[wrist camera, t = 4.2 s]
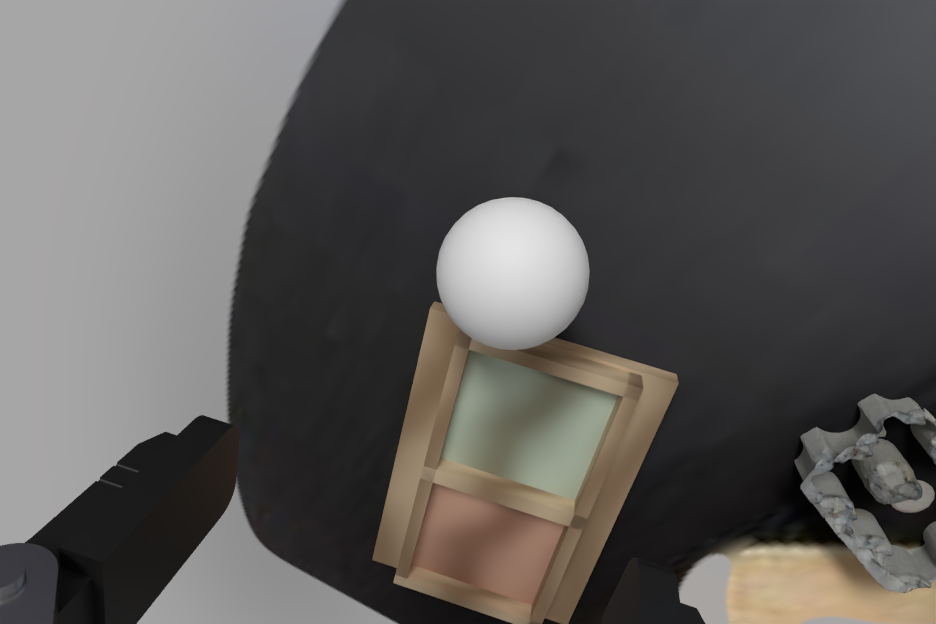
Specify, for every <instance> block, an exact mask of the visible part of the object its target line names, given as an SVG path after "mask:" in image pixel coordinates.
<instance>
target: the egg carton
mask: <svg viewBox="0 0 936 624" xmlns="http://www.w3.org/2000/svg"><path fill="white" fill-rule="evenodd" d="M858 407H859V409H860V413H861V414H860V419H859V421H858V423H857V424H856V425H855V426H854V427H853V428H852V429H850V430H848V431H846V432H842V433H830V432H826V431H823V430H821V429H819V428H813V429H812V430H810V431H808V432H807V433H804V434H803V435H802V436H800V438H801V440H802V442H803V451H802V453H801V455H800V456H799V457H798V458H797V459H796V460H794V462H795V465H796V467H797V469H798V471H799V473H800V475H801V477H802V480H803V483H802V484H801V490H802V491H803V493H804V494H805V496H806V497H807V498H808V500H809V501H810V502H811V503H812V504H813V505H814V506H815V507H816V508H817V510H818V511H819V512H820V514H821V515H822V517H823V518H825V520H826V521H827V522H828V524H829V525H830V526H831V528H832V529H833V530H834V532H835V533H836V535H837V536H838V537H839V538H840V539H841V540H842V541H843V542H844V543H845V544H846V546H847V547H848V548H849V549H850V551H851V552H852V553H853V554H854V555H855V556H856V557H857V558H858V560H859V561H860V562H861V564H862V565H863V566H864V567H865V569H866V570H867V571H868V572H869V573H870V574H871V576H872V577H873V578H874V579H875V580H876V581H877V583H879V584H880V585H881V586H882V587H883V588H884V589H886V590H889V591H894V592H902V593H906V592H909V591H911V590H913V589H916V588H925V587H927V588H930V587H931V583H932V582H933V581H935V580H936V521H935V522H933V523H932V524H930V525H929V526H928V527H927V528H926V529H925V530H924V532H923V540H924V542H925V544H924V545H923V546H920V547H917V548H915V549H912V550H906V549H904V548H901V547H898V546H893V545H891V544H890V542H889V541H888V539H887V537H886V535H885V534H884V532H883V530H882V529H881V527H880V526H879V524H878V522H877V521H876V519H875V517H874V516H873V515H872V514H871V513H870V512H868V511H866V510H863V509H854V506H853V503H852V502H851V500H850V499H849V497H848V495H847V494H846V492H845V490H844V488H843V486H842V485H841V483H840V481H839V479H838V478H837V477H836V476H835V475H834V474H833V473H832V472H829V470H831V469H832V468H833V463H834V462H840V463H844V462H846V461H847V460H848V459H851V462H852V464H853V466H854V468H855V470H856V471H857V473H858V475H859V476H860V478H861V479H862V481H863V483H864V486H865V488H866V489H867V490H868V491H869V492H870V493H871V494H872V496H873V497H874V498H875V499H876V500H877V501H878V502H880V503H882V504H891V505H892V507H893V508H894V509H896V510H898V511H901V512H904V513H914V512H919V511H921V510H923V509H925V508H927V507H929V505H930V504H931V502H932V501H933V500H934V495H935V492H934V490H933V488H932V487H931V486H930V485H929V484H928V483H926V482H924V481H920V480H916V477H915V474H914V471H913V470H912V468H911V467H910V465H909V464H908V463H907V461H906V460H905V459H904V458H903V456H902V455H901V453H900V452H899V451H898V450H897V448H896V447H895V446H894V444H892V443H891V442H889V441H887V440H883V439H878V437H884V436H885V435H886V430H885V428H884V426H883V422H884V420H885V419H887V418H889V417H891V416H894V417H896V418H898V419H899V420H901V421H902V422H904V423H906V424H911V425H910V428H911V430H912V433H913V435H914V437H915V438H916V439H917V440H918V442H919V443H920V444H921V445H922V447H923V448H924V449H925V451H926V452H927V453H928V454H929V456H930V457H931V458H932V459H933V461H934V463H935V464H936V419H935V418H934V417H933V416H932V415H931V414H930V413H929V412H928V411H927V410H926V409H925V408H924V409H923V411H922V409H921V408H920V407H919V405H918V404H917V403H916V402H915V401H914V400H912V399H911V398H909V397H908V398H903V399H900V400H889V399H885V398H883V397H881V396H879V395H876V394H873V395H871V396H869V397H867V398H865V399H864V400H862V401H860V402H859V403H858Z"/></svg>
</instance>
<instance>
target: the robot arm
mask: <svg viewBox="0 0 936 624" xmlns="http://www.w3.org/2000/svg"><path fill="white" fill-rule="evenodd" d="M239 438H240V431H239V428H238V427H237V426H234V425H231V424H228V423H225V422H222V421H219V420H216V419H212V418H210V417H206V416H203V415H202V416H199V417H197V418H196V419H194V420H193V421H192V422H191V423H190V424H189V425H188V426H187V427H186V428H185V429H184V430H182V431H181V433H179V434H178V435H174V434H170V433H167V432H164V433H162V434H160V435H157V436H155V437H153V438H151V439H148V440H146V441H144V442H142V443H139V444H138V445H137V446H135V447H134V448H133V449H132V450H131V451H130V452H129V453H127V454H126V455H125V456H124V457H123V458H122V459H121V460H119V461H118V462H117V465H116V466H113V467H111V468H110V469H109V470H108V471H107V472H106V473H105V474H103V475H102V476H101V477H100V480H99V481H98V482H97V481H95V483H93V484H92V485H91V486H90V487H89V488H88V489H86V490H85V491H84V492H83V493H82V494H81V495H80V496H78V497H77V498H76V499H75V500H74V501H73V502H72V503H70V504H69V505H68V506H67V507H66V508H65V509H64V510H62V511H61V512H60V513H59V514H58V515H57V516H56V517H54V518H53V519H52V520H51V521H50V522H49V523H48V524H46V525H45V526H44V527H43V528H42V529H41V530H40V531H38V532H37V533H36V534H35V535H34V536H33V537H32V538H30V539H29V540H28V541H27V542H25V543H15V544H7V545H2V546H0V624H137V622H138V621H139V620H140V618H141V617H142V616H143V614H144V613H145V612H146V611H147V610H148V608H149V607H150V606H151V605H152V603H153V602H154V601H155V599H156V598H157V597H158V596H159V595H160V593H161V592H162V591H163V589H164V588H165V587H166V586H167V584H168V583H169V582H170V581H171V579H172V578H173V577H174V576H175V574H176V573H177V572H178V570H179V569H180V568H181V567H182V565H183V564H184V563H185V562H186V560H187V559H188V558H189V557H190V555H191V554H192V553H193V551H194V550H195V549H196V548H197V546H198V545H199V544H200V543H201V541H202V540H203V539H204V538H205V536H206V535H207V534H208V532H209V531H210V530H211V529H212V528H213V526H214V525H215V524H216V522H217V521H218V520H219V519H220V517H221V516H222V515H223V513H224V512H225V510H226V508H227V507H228V505H229V503H230V500H231V498H232V496H233V493H234V489H235V484H236V474H237V462H238V450H239ZM601 624H705V622H704V621H703V619H702V617H701V615H700V613H699V612H698V610H697V608H694V607H691V606H688V605H685V604H682V603H680V599H679V592H678V585H677V578H676V574H675V572H674V571H673V570H672V569H669V568H666V567H663V566H660V565H657V564H653V563H650V562H647V561H644V560H641V559H638V558H635V557H634V558H632V559H631V560H630V562H629V564H628V565H627V567H626V569H625V571H624V573H623V576H622V578H621V580H620V582H619V584H618V586H617V588H616V590H615V592H614V594H613V596H612V598H611V600H610V602H609V604H608V606H607V608H606V610H605V613H604V616H603V619H602V623H601Z"/></svg>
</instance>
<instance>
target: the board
mask: <svg viewBox="0 0 936 624" xmlns="http://www.w3.org/2000/svg"><path fill="white" fill-rule="evenodd" d="M678 384H679V382H678V378H677V374H674V373H671V372H668V371H664V370H661V369H658V368H654V367H651V366H648V365H644V364H641V363H638V362H635V361H631V360H628V359H625V358H621V357H618V356H615V355H611V354H608V353H605V352H601V351H598V350H595V349H591V348H588V347H585V346H581V345H578V344H575V343H571V342H568V341H565V340H561V339H558V338H555V337H554V338H552V339H551V340H549V341H547V342H545V343H543V344H541V345H538V346H535V347H531V348H528V349H520V350H506V349H498V348H494V347H490V346H486V345H484V344H482V343H480V342H478V341H476V340H474V339H472V338H471V337H469V336H468V335H467V334H465V333H464V332H463V331H462V330H461V329H460V328H459V327H458V326H457V325H456V324H455V323H454V322H453V321H452V319H451V318H450V316H449V315H448V314H447V312H446V310H445V308H444V305H443V304H442V303H439V302H435V301H434V303H433V305H432V306H431V308H430V311H429V316H428V320H427V324H426V329H425V333H424V337H423V342H422V346H421V350H420V355H419V359H418V363H417V368H416V372H415V376H414V381H413V385H412V389H411V394H410V398H409V402H408V407H407V411H406V415H405V420H404V424H403V429H402V433H401V437H400V442H399V446H398V450H397V455H396V459H395V463H394V468H393V472H392V476H391V481H390V485H389V489H388V494H387V498H386V502H385V507H384V511H383V515H382V520H381V524H380V528H379V533H378V537H377V541H376V546H375V550H374V554H373V559H372V560H374V561H377V562H380V563H383V564H386V565H389V566H392V567H395V568H397V570H396V574H395V578H394V582H393V583H395V584H398V585H401V586H404V587H407V588H410V589H413V590H416V591H419V592H422V593H424V594H427V595H430V596H433V597H436V598H439V599H442V600H445V601H448V602H451V603H454V604H457V605H460V606H463V607H466V608H469V609H472V610H475V611H477V612H480V613H483V614H486V615H489V616H492V617H495V618H498V619H501V620H504V621H507V622H510V623H513V624H542V623H543V621H544V618H546V619H549V620H552V621H555V622H558V623H561V624H568V623H569V621H570V618H571V616H572V614H573V612H574V610H575V608H576V605H577V603H578V601H579V599H580V597H581V594H582V592H583V590H584V588H585V586H586V584H587V581H588V579H589V577H590V575H591V573H592V571H593V568H594V566H595V564H596V562H597V560H598V558H599V555H600V553H601V551H602V549H603V547H604V545H605V542H606V540H607V538H608V536H609V534H610V532H611V529H612V527H613V525H614V523H615V521H616V518H617V516H618V514H619V512H620V510H621V508H622V505H623V503H624V501H625V499H626V497H627V495H628V492H629V490H630V488H631V486H632V484H633V482H634V479H635V477H636V475H637V473H638V471H639V469H640V466H641V464H642V462H643V460H644V458H645V455H646V453H647V451H648V449H649V447H650V445H651V442H652V440H653V438H654V436H655V434H656V432H657V429H658V427H659V425H660V423H661V421H662V419H663V416H664V414H665V412H666V410H667V408H668V406H669V403H670V401H671V399H672V397H673V395H674V393H675V390H676V388H677V386H678Z"/></svg>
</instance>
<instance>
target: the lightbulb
mask: <svg viewBox="0 0 936 624" xmlns="http://www.w3.org/2000/svg"><path fill="white" fill-rule="evenodd" d="M588 283H589V262H588V255H587V252H586V249H585V247H584V244H583V241H582V239H581V238H580V236H579V234H578V233H577V231H576V229H575V228H574V227H573V226H572V225H571V224H570V223H569V222H568V221H567V219H566V218H565V217H564V216H563V215H561V214H560V213H558V212H557V211H556V210H554V209H553V208H552V207H550V206H547V205H545V204H543V203H541V202H539V201H535V200H531V199H527V198H514V197H508V198H501V199H495V200H491V201H488V202H485V203H483V204H480V205H478V206H476V207H475V208H473V209H471V210H470V211H468V212H467V213H465V214H464V215H463V216H462V217H461V218H460V219H459V220H458V221H457V222H456V223H455V224H454V226H453V227H452V228H451V230H450V231H449V233H448V234H447V236H446V237H445V239H444V242H443V244H442V246H441V249H440V252H439V257H438V263H437V286H438V290H439V295H440V298H441V301H442V303H443V305H444V308H445V310H446V312H447V314H448V315H449V316H450V318H451V319H452V321H453V322H454V323H455V324H456V325H457V326H458V327H459V328H460V329H461V330H462V331H463V332H464V333H465V334H467V335H468V336H469V337H471V338H472V339H474V340H476V341H478V342H480V343H482V344H484V345H486V346H490V347H494V348H498V349H506V350H520V349H528V348H531V347H535V346H538V345H541V344H543V343H545V342H547V341H549V340H551V339H552V338H554V337H556V336H557V335H558V334H559V333H561V332H562V331H563V330H565V329H566V328H567V326H568V325H569V324H570V323H571V322H572V321H573V320H574V318H575V317H576V315H577V314H578V312H579V310H580V308H581V306H582V305H583V303H584V300H585V297H586V294H587V290H588Z"/></svg>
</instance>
